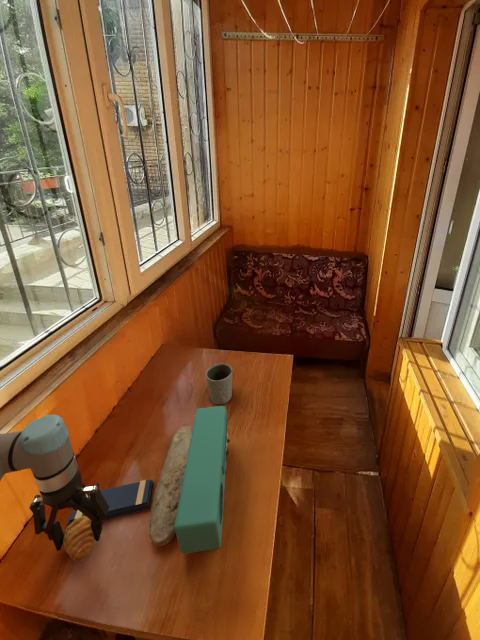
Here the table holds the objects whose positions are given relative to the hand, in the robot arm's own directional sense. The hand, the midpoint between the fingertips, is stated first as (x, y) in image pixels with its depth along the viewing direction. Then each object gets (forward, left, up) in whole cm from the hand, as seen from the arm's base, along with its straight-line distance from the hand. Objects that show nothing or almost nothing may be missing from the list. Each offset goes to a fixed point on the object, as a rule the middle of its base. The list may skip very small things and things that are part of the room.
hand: (80, 539), depth 78 cm
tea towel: (+5, +8, -2) cm, 10 cm away
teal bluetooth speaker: (+32, +5, -2) cm, 33 cm away
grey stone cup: (+36, +42, -2) cm, 56 cm away
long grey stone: (+22, +11, -2) cm, 25 cm away
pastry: (0, 0, -1) cm, 1 cm away
